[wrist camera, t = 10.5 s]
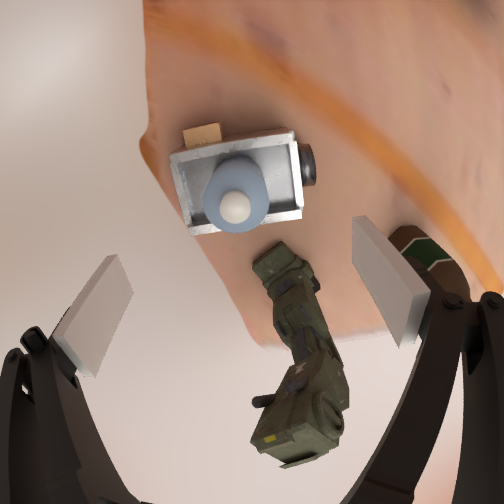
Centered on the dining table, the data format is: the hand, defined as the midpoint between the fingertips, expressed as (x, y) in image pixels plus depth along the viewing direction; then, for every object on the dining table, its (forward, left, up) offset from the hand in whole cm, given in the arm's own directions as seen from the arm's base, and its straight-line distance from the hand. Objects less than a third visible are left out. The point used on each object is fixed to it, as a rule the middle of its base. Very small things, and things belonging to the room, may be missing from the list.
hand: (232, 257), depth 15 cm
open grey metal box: (-1, -1, -22) cm, 22 cm away
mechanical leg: (-4, +16, -22) cm, 28 cm away
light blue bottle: (0, 0, -16) cm, 16 cm away
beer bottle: (-24, +15, -22) cm, 36 cm away
